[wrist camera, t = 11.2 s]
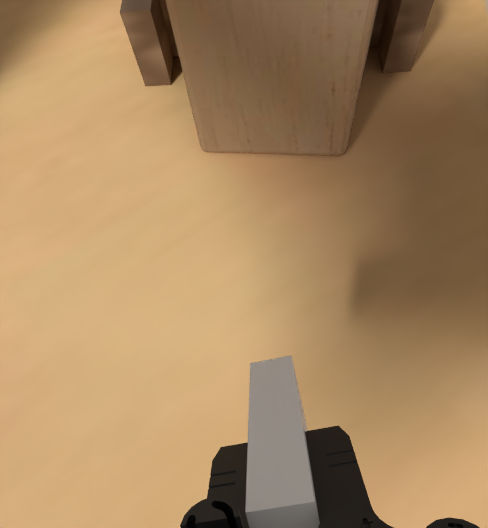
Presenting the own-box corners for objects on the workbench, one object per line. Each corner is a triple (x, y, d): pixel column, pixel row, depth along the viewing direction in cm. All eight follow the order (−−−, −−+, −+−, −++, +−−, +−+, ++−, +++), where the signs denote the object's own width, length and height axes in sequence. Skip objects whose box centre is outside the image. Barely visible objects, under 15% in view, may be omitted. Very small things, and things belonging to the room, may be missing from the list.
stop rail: (145, 86, 34) (120, 12, 28) (151, 41, 36) (128, -35, 30) (410, 71, 32) (436, -10, 27) (400, 26, 34) (422, -57, 29)
